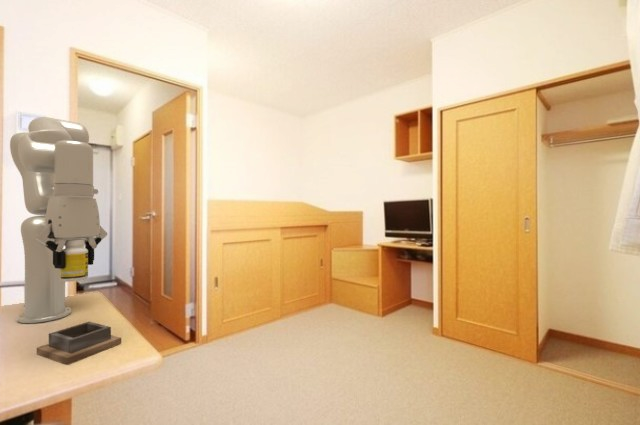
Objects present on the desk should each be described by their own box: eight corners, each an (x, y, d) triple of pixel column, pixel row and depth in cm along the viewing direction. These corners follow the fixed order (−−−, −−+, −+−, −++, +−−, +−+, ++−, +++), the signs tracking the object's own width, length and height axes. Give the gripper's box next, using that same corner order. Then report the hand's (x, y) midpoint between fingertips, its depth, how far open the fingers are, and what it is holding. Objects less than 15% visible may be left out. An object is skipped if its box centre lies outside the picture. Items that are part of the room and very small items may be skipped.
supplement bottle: (90, 279, 76) (90, 239, 77) (62, 283, 72) (62, 241, 73) (85, 276, 80) (85, 238, 80) (58, 280, 76) (58, 239, 76)
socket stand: (36, 354, 73) (36, 335, 73) (91, 335, 84) (91, 318, 84) (67, 365, 68) (67, 344, 68) (121, 343, 79) (121, 325, 79)
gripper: (101, 194, 86) (101, 260, 86) (21, 190, 70) (21, 271, 70) (119, 193, 83) (119, 262, 83) (39, 189, 67) (39, 273, 67)
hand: (74, 265), depth 76 cm, fingers closed on supplement bottle, 5 cm apart
